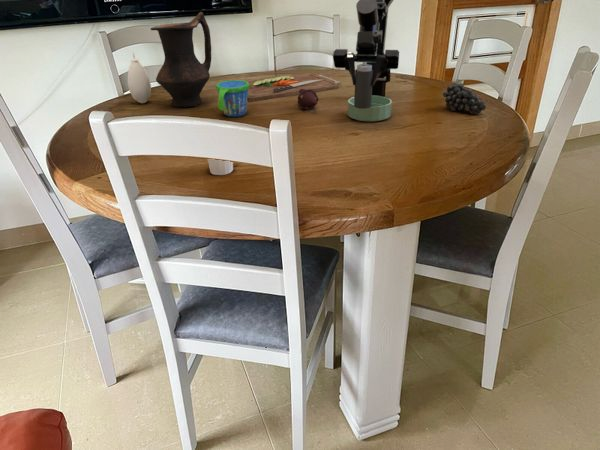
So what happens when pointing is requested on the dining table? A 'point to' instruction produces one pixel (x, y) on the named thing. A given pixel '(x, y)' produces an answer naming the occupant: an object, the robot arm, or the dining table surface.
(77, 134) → the dining table surface
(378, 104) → the bowl
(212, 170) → the shot glass
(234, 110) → the snack cup
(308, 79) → the chopping board
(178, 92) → the jug
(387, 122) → the dining table surface
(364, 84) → the pepper mill
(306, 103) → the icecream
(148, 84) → the teardrop candle
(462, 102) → the fruit
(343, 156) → the dining table surface
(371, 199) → the dining table surface
